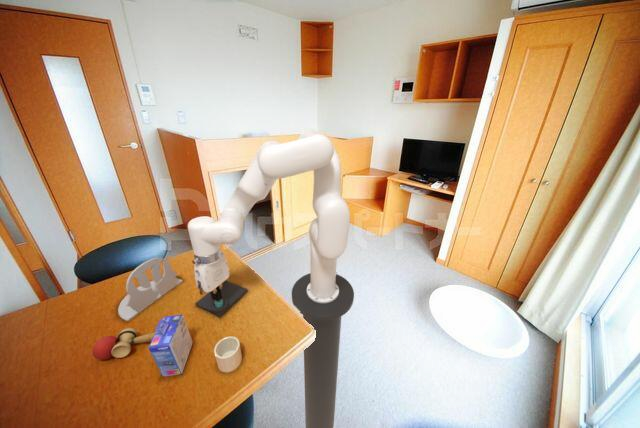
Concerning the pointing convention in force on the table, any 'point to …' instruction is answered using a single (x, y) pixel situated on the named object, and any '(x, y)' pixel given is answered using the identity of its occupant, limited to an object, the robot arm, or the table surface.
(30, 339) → the table surface
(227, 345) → the beige cup
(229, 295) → the scale
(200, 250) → the robot arm
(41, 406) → the table surface
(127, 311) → the ornament
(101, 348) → the kendama
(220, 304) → the button
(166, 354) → the ink cartridge box
